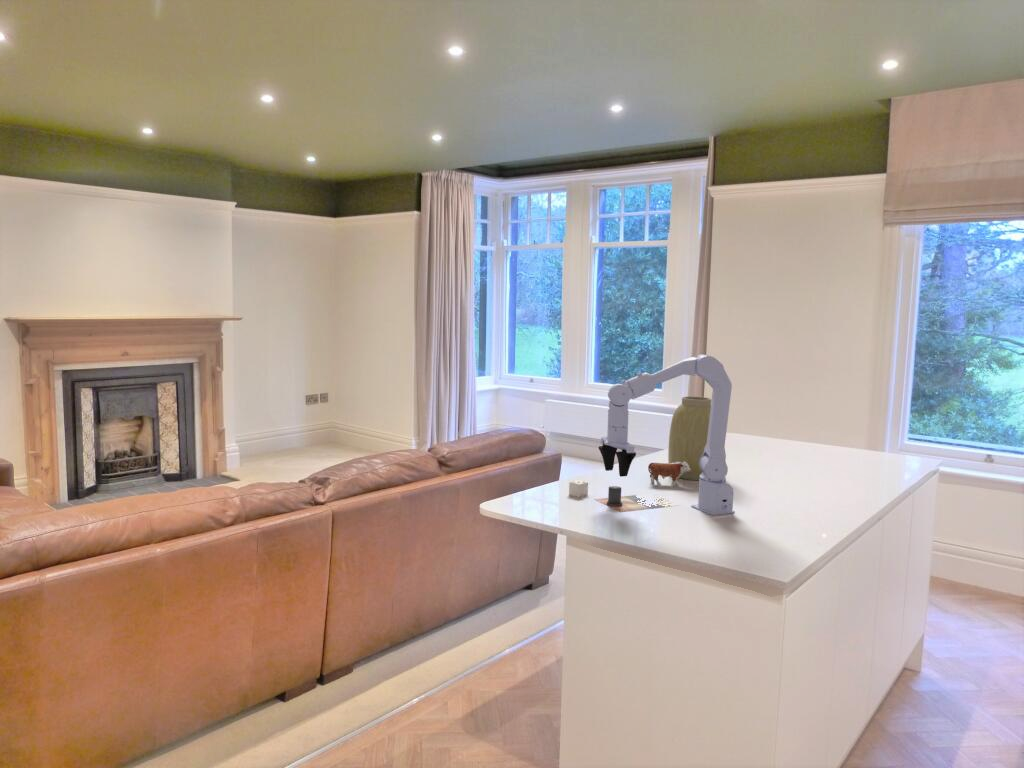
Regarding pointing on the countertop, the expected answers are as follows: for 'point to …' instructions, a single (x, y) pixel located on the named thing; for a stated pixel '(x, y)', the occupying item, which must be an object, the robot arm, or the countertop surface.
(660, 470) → the bull figurine
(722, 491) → the robot arm
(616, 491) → the dark grey rounded knob
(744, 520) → the countertop surface
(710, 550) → the countertop surface
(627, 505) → the track board
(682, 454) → the vase
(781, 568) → the countertop surface
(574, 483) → the die
